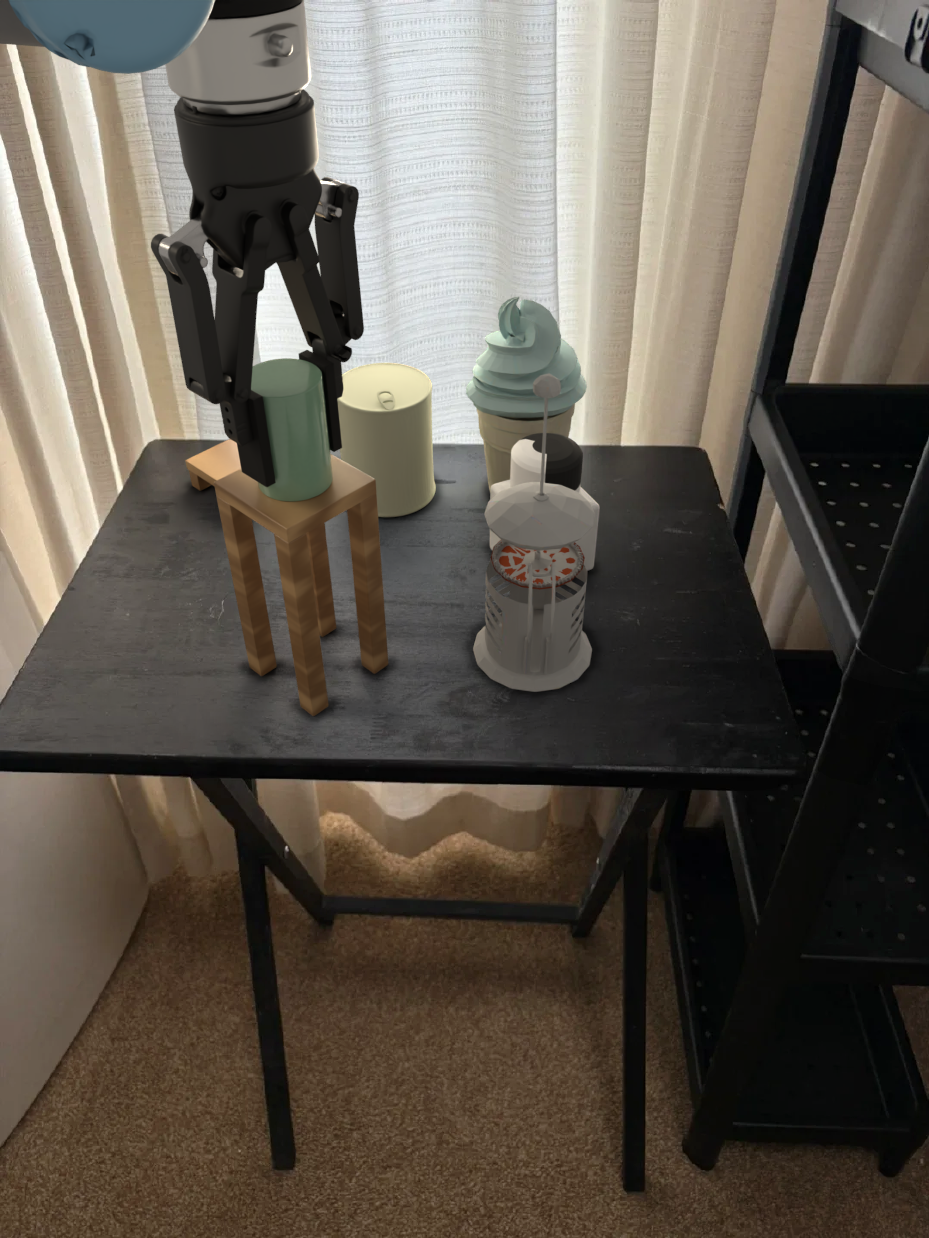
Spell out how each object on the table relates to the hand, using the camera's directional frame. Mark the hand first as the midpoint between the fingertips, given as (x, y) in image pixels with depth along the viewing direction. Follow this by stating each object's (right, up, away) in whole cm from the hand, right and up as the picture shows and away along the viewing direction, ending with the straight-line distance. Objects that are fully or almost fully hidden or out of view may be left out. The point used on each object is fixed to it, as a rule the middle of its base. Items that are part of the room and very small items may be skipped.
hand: (292, 459), depth 72 cm
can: (+4, +2, +32) cm, 32 cm away
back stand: (-10, +2, +33) cm, 34 cm away
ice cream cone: (+17, +2, +32) cm, 37 cm away
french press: (+17, -14, +14) cm, 26 cm away
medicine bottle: (+19, -6, +24) cm, 31 cm away
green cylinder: (0, -1, +1) cm, 2 cm away
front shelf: (0, -15, +13) cm, 20 cm away
